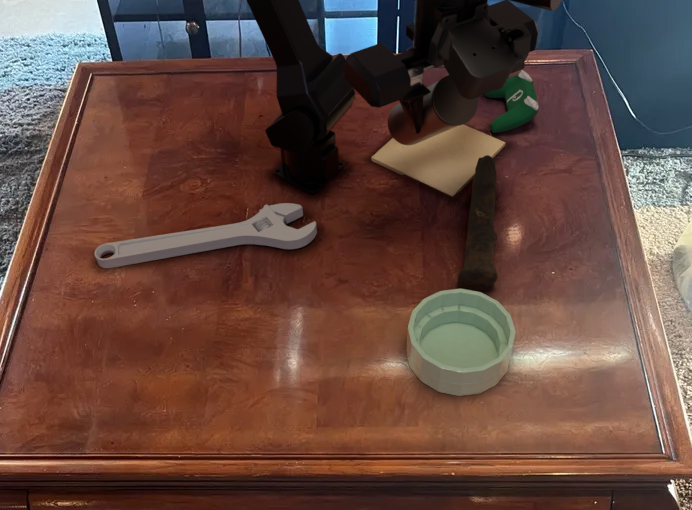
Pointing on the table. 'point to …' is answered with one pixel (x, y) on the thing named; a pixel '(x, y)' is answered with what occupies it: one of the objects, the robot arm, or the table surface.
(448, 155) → the plate
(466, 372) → the bowl
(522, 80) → the gaming controller
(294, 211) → the adjustable wrench
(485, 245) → the hand tool
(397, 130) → the tin
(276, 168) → the robot arm
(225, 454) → the table surface
